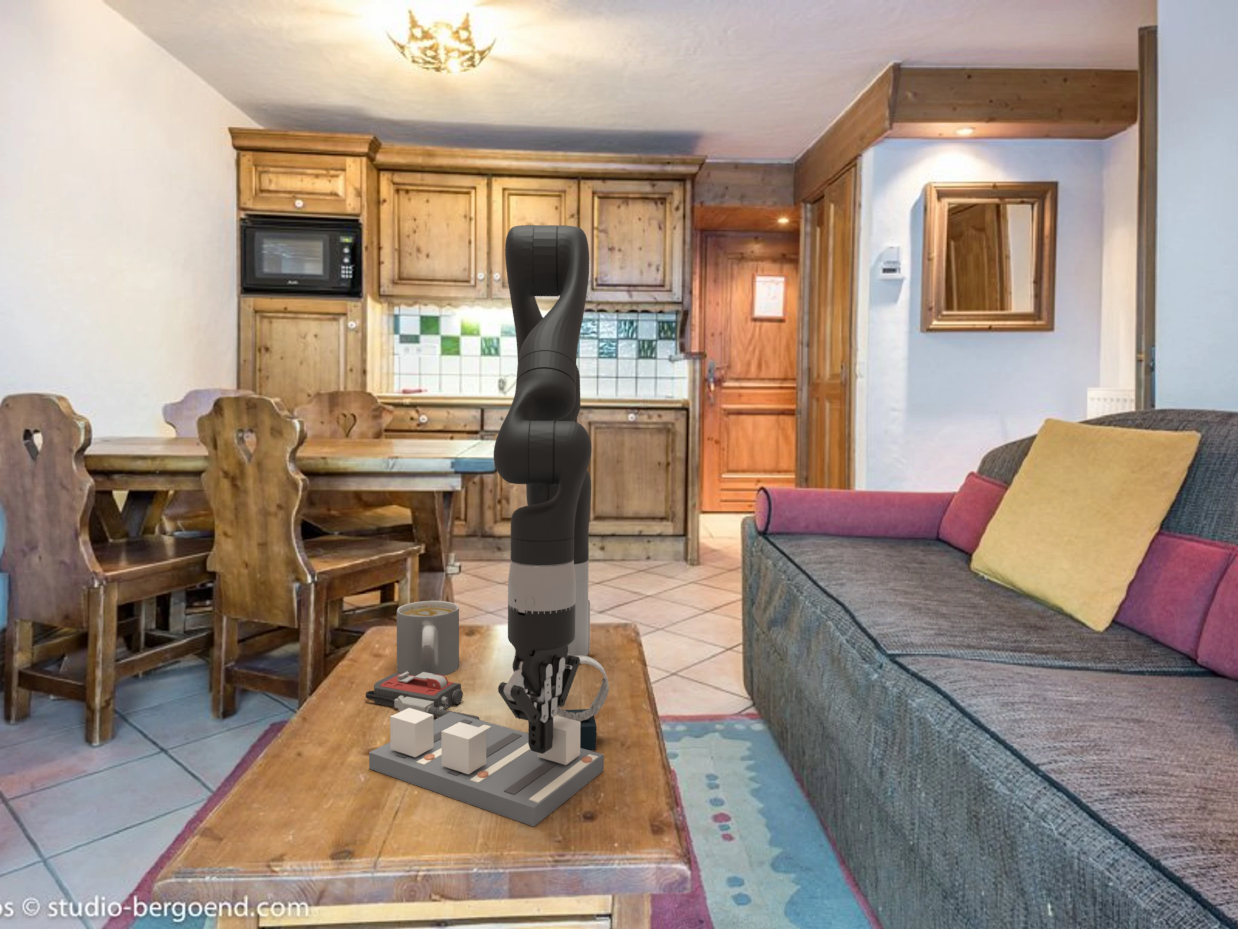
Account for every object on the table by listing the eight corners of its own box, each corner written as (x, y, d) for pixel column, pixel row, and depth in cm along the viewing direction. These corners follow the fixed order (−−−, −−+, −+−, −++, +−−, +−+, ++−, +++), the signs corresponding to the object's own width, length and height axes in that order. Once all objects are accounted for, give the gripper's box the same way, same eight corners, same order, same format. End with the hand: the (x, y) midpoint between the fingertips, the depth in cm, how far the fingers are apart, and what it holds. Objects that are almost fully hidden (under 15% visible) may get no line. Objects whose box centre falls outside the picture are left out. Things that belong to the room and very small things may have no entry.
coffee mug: (404, 657, 128) (404, 600, 127) (463, 657, 128) (463, 600, 127) (384, 686, 114) (383, 622, 114) (449, 686, 115) (449, 622, 114)
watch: (544, 733, 99) (545, 652, 98) (605, 731, 100) (606, 650, 99) (546, 752, 93) (547, 666, 92) (610, 750, 94) (611, 664, 93)
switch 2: (552, 746, 89) (552, 714, 89) (580, 754, 88) (580, 721, 87) (537, 756, 87) (537, 723, 87) (565, 765, 85) (566, 731, 85)
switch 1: (459, 755, 87) (459, 722, 87) (486, 763, 85) (486, 729, 85) (441, 765, 84) (441, 731, 84) (468, 774, 82) (468, 739, 82)
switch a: (409, 739, 91) (408, 707, 91) (433, 747, 89) (433, 714, 89) (390, 749, 88) (390, 716, 88) (415, 757, 86) (415, 723, 86)
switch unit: (450, 726, 100) (450, 709, 100) (603, 770, 88) (603, 752, 88) (369, 768, 88) (369, 750, 88) (533, 826, 76) (534, 805, 76)
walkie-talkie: (354, 709, 106) (474, 733, 99) (354, 679, 106) (474, 701, 99) (394, 688, 115) (507, 709, 107) (393, 660, 114) (507, 679, 107)
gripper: (548, 583, 91) (547, 722, 92) (476, 607, 79) (476, 765, 80) (601, 592, 87) (599, 736, 88) (533, 618, 75) (532, 783, 77)
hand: (540, 749), depth 84 cm, fingers closed
